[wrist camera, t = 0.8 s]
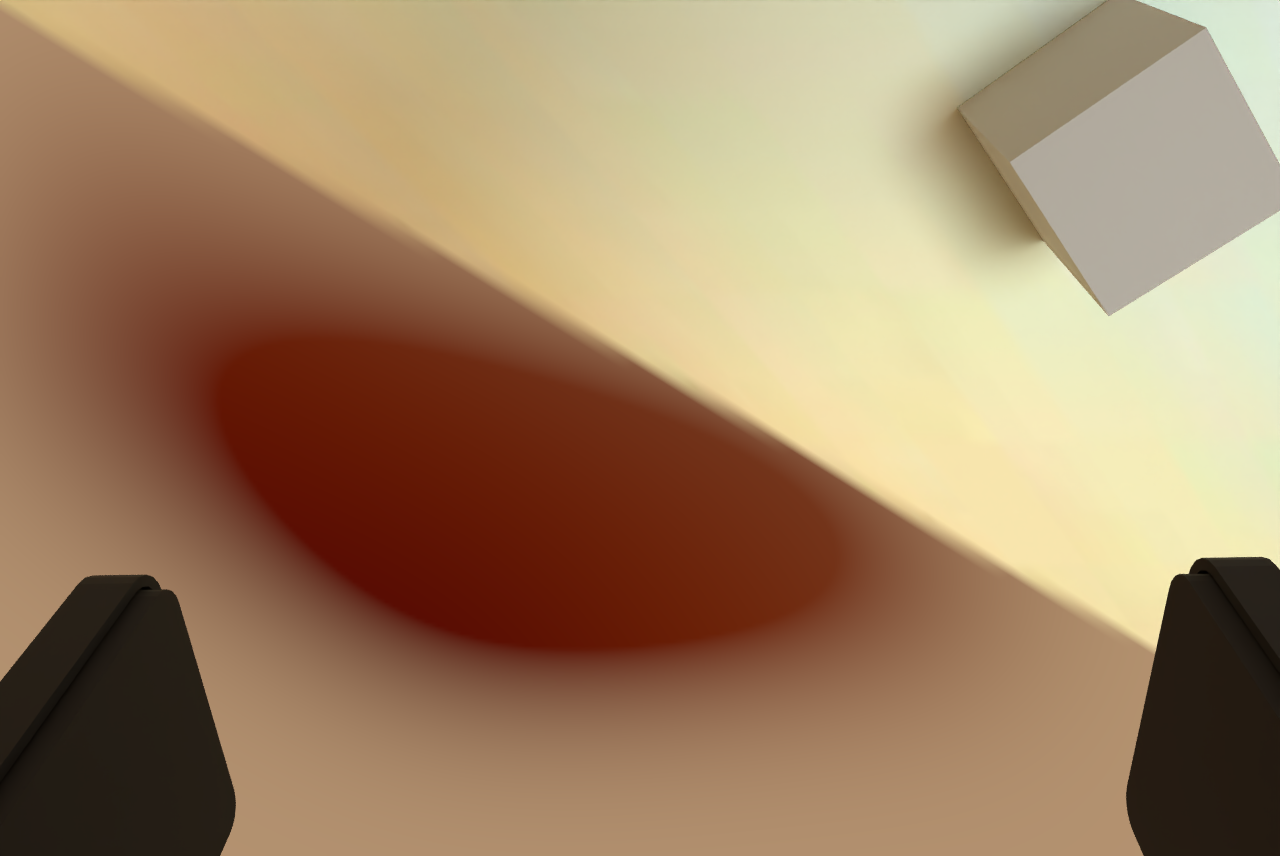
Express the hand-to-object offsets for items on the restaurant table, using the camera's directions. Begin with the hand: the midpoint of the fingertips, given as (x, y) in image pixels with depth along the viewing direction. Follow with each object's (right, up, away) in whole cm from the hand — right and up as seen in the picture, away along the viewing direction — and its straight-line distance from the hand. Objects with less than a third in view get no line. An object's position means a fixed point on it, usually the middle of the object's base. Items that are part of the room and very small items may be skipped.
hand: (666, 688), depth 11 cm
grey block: (+12, +11, +22) cm, 27 cm away
